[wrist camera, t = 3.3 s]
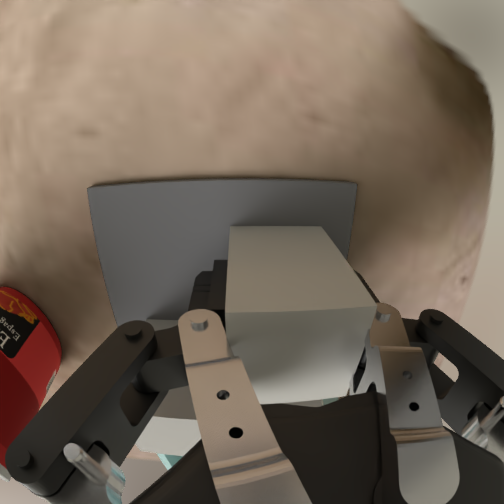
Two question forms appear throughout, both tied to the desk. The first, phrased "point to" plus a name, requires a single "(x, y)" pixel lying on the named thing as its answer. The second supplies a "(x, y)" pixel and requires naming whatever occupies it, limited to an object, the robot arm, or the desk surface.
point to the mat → (197, 231)
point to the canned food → (23, 365)
